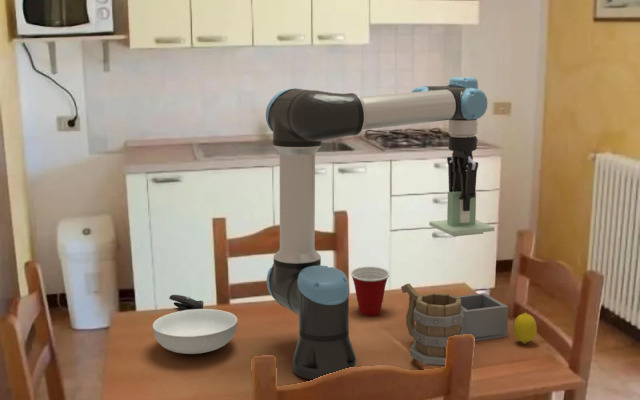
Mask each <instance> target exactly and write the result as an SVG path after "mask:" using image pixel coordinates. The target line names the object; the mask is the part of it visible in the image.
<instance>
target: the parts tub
mask: <svg viewBox="0 0 640 400" xmlns="http://www.w3.org/2000/svg"><path fill="white" fill-rule="evenodd" d="M456 297H458V298H460V299H461V307H462V308H463V309H464V313H463V315H464V317H463V320H462V323H461V327H462V328H463V334H472V335H473V336H474V337H475V341H474V342H477V341H478V342H479V341H487V340H492V339H499V338H500V339H501V338H508V329H509V328H508V327H509V326H508V325H509V324H508V323H509V321H508V320H509V318H508V317H509V306H508V305H506V304H505V303H503V302H501V301H499V300H497V299H496V298H494V297H492V296H490V295H488V294H487V293H485V292H482V293H473V294H465V295H464V294H463V295H457V296H456Z"/></svg>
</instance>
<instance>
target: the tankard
mask: <svg viewBox="0 0 640 400" xmlns="http://www.w3.org/2000/svg"><path fill="white" fill-rule="evenodd" d="M400 290H401V292H402V293H403V294H406V293H407V294H408V297H409V299H408V301H409V302H408V308H407V311H406V315H405V317H406V318H405V319H406V320H405V321H406V322H405V324H406V328H407V332H408V335H409V336H411V337H412V338H413V341H414V342H413V343H412V345H411V347H410V351H409V356H410V357H411V358H412V359H415V360H416V361H418V362H420V363H421V364H422V365H432V366H433V365H434V366H444V365H445V359H446V346H447V340H448V337H450V336H454V335H463V328H462V327H461V323H462V320H463V317H464V315H463V313H464V309H463V308H462V307H461V299H460V298H458V297H456V296H455V295H453V294H449V293H441V292H430V293H425V294H420V293H419V292H418V291H417V290H416V289H415V288H414V287H413V285H412V284H411V283H405V284H403V285H402V286H401V287H400ZM444 367H445V366H444Z"/></svg>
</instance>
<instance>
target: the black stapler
mask: <svg viewBox="0 0 640 400" xmlns="http://www.w3.org/2000/svg"><path fill="white" fill-rule="evenodd" d="M168 299H169V300H171V301H173V305H174V306H175V307H176V308H177V309H179V310H180V311H184V310H193V309H204V300H196V299H193V298H191V297H190V296H184V295H182V294H181V295H180V294H171V295H169V298H168Z"/></svg>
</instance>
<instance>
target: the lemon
mask: <svg viewBox="0 0 640 400" xmlns="http://www.w3.org/2000/svg"><path fill="white" fill-rule="evenodd" d="M537 329H538V328H537V322H536V319H535V318H534V317H533V316H532V315H531V314H529V313H527V312H523V313H521V314H519V315H518V316H517V317H516V318H515V320H514V323H513V333H514V336H515V338H516V339H517V340H518V341H520V342H521V343H522V344H523V345H524V344H525V345H526V344H527V343H528V342H532V341H533V340H534V338H535V337H536V336H537V335H536V334H537V331H538V330H537Z"/></svg>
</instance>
